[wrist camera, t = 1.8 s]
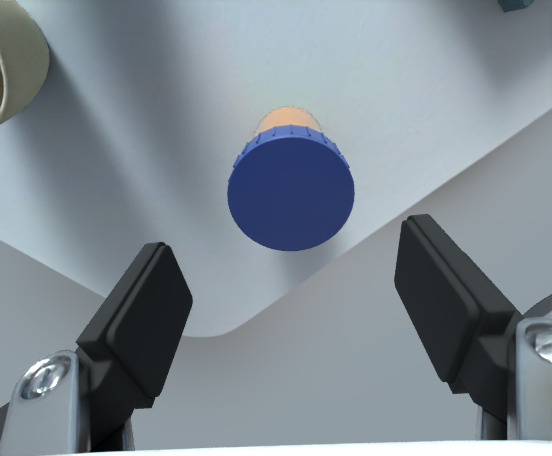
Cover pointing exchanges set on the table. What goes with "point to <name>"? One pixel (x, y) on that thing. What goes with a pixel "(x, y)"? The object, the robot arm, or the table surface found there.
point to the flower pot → (20, 59)
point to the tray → (514, 4)
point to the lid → (290, 189)
